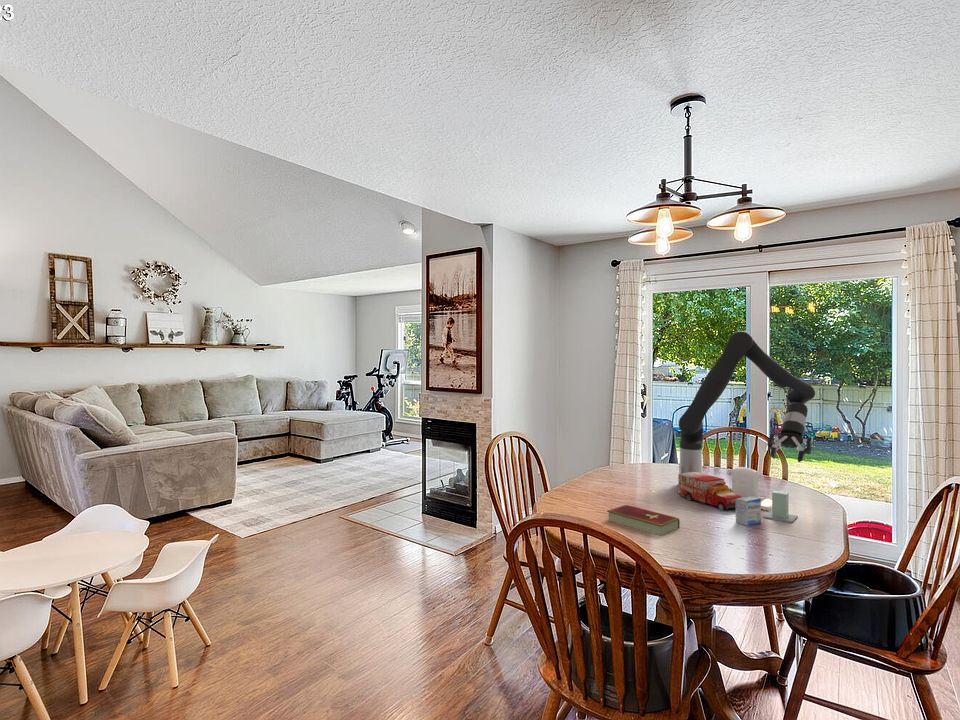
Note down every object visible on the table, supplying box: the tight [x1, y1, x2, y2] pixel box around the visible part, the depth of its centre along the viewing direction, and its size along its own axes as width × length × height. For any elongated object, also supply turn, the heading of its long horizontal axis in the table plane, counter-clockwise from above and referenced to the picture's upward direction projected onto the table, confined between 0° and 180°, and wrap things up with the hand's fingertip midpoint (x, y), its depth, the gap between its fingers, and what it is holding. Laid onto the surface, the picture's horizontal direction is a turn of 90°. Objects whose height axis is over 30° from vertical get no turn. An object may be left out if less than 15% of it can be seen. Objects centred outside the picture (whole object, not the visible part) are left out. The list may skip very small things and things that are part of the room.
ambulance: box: [677, 472, 743, 511], centre depth 200 cm, size 11×25×10 cm, turn 22°
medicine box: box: [735, 496, 762, 527], centre depth 175 cm, size 8×4×9 cm, turn 117°
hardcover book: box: [606, 504, 681, 536], centre depth 174 cm, size 12×21×4 cm, turn 40°
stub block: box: [771, 490, 790, 518], centre depth 181 cm, size 4×3×8 cm, turn 45°
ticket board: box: [761, 498, 772, 512], centre depth 194 cm, size 5×12×2 cm, turn 136°
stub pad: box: [762, 511, 799, 524], centre depth 181 cm, size 9×9×1 cm
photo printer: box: [731, 466, 760, 498], centre depth 208 cm, size 10×4×12 cm, turn 39°
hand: (785, 459), depth 189 cm, fingers open, 8 cm apart
